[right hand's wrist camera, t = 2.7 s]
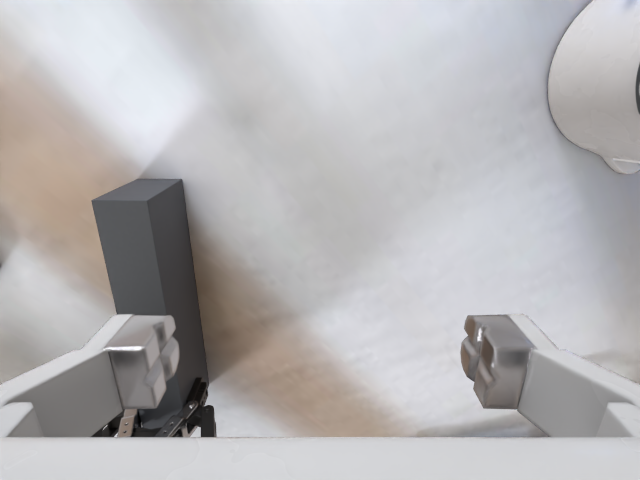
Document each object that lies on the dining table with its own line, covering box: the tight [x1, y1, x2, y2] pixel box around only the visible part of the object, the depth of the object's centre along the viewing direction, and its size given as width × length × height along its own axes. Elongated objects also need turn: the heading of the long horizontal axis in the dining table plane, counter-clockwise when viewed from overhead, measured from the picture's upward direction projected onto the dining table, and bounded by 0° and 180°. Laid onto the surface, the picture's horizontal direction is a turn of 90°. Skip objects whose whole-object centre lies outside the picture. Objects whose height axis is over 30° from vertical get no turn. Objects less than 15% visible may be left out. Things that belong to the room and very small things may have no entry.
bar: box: [92, 179, 209, 429], centre depth 38 cm, size 26×4×8 cm, turn 0°
